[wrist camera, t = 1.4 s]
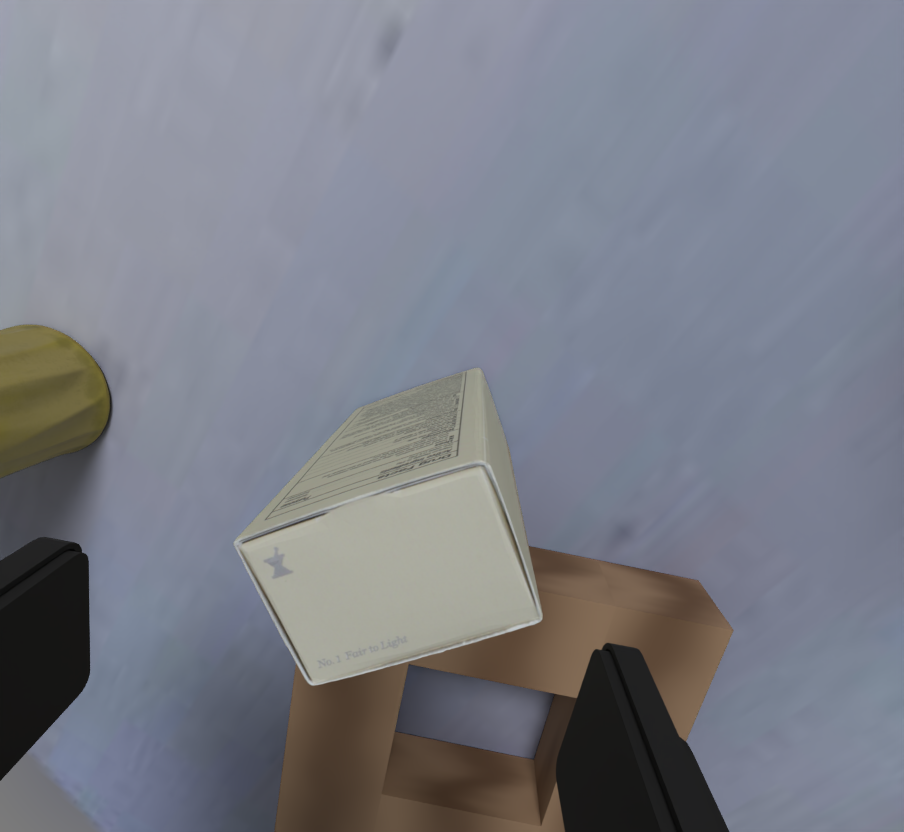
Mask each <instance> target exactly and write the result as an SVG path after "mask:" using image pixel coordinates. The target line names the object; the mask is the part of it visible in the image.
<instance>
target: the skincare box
mask: <svg viewBox="0 0 904 832" xmlns="http://www.w3.org/2000/svg"><path fill="white" fill-rule="evenodd" d="M233 545H234V547H235V548H236V550H237V552H238V554H239V556H240V557H241V559H242V561H243V563H244V566H245V568H246V570H247V572H248V574H249V575H250V577H251V580H252V581H253V583H254V585H255V587H256V589H257V592H258V593H259V595H260V597H261V599H262V601H263V603H264V605H265V606H266V608H267V610H268V612H269V614H270V616H271V618H272V620H273V622H274V623H275V625H276V627H277V629H278V631H279V634H280V636H281V637H282V639H283V641H284V643H285V644H286V646H287V648H288V649H289V651H290V653H291V655H292V657H293V659H294V660H295V662H296V664H297V666H298V667H299V669H300V671H301V673H302V674H303V676H304V678H305V680H306V681H307V683H308V684H310V685H312V686H315V685H321V684H325V683H328V682H332V681H338V680H341V679H345V678H350V677H354V676H358V675H362V674H365V673H368V672H372V671H376V670H380V669H383V668H386V667H390V666H394V665H398V664H401V663H405V662H409V661H413V660H416V659H419V658H422V657H425V656H429V655H432V654H437V653H442V652H444V651H446V650H451V649H454V648H457V647H461V646H464V645H468V644H471V643H475V642H478V641H481V640H484V639H487V638H491V637H494V636H498V635H501V634H505V633H508V632H512V631H515V630H518V629H521V628H525V627H528V626H531V625H535V624H537V623H539V622H541V620H542V618H543V614H542V609H541V604H540V599H539V595H538V590H537V585H536V580H535V575H534V571H533V566H532V561H531V556H530V551H529V545H528V541H527V536H526V531H525V527H524V522H523V517H522V512H521V507H520V502H519V498H518V492H517V487H516V482H515V477H514V472H513V467H512V461H511V456H510V451H509V447H508V444H507V441H506V438H505V435H504V432H503V429H502V426H501V423H500V420H499V417H498V414H497V411H496V408H495V405H494V402H493V399H492V396H491V393H490V390H489V388H488V385H487V382H486V379H485V377H484V374H483V371H482V370H481V369H480V368H473V369H470V370H467V371H464V372H461V373H457V374H454V375H451V376H448V377H445V378H442V379H439V380H436V381H433V382H430V383H427V384H424V385H421V386H418V387H415V388H413V389H410V390H407V391H404V392H401V393H398V394H395V395H393V396H390V397H387V398H384V399H381V400H379V401H376V402H373V403H371V404H368V405H365V406H363V407H360V408H358V409H356V410H355V411H354V412H353V413H352V414H351V415H350V416H349V418H348V419H347V420H346V421H345V422H344V423H343V424H342V425H341V426H340V427H339V428H338V430H337V431H336V432H335V433H334V434H333V435H332V436H331V437H330V438H329V439H328V440H327V441H326V442H325V444H324V445H323V446H322V447H321V448H320V449H319V450H318V451H317V452H316V453H315V454H314V456H313V457H312V458H311V459H310V460H309V461H308V462H307V463H306V464H305V465H304V466H303V467H302V468H301V469H300V471H299V472H298V473H297V474H296V475H295V476H294V477H293V478H292V479H291V480H290V481H289V482H288V484H287V485H286V486H285V487H284V488H283V489H282V490H281V491H280V492H279V493H278V494H277V495H276V497H275V498H274V499H273V500H272V501H271V502H270V503H269V504H268V505H267V506H266V507H265V508H264V509H263V510H262V511H261V513H260V514H259V515H258V516H257V517H256V518H255V519H254V520H253V521H252V522H251V523H250V524H249V525H248V526H247V528H246V529H245V530H244V531H243V532H242V533H241V534H240V535H239V536H238V537H237V538H236V540H235V541H234V543H233Z"/></svg>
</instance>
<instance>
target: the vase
mask: <svg viewBox="0 0 904 832" xmlns="http://www.w3.org/2000/svg"><path fill="white" fill-rule="evenodd" d="M109 411H110V396H109V390H108V387H107V383H106V380H105V378H104V376H103V373H102V371H101V369H100V367H99V366H98V364H97V363H96V361H95V360H94V359H93V358H92V357H91V355H90V354H89V353H88V352H87V351H86V350H85V349H84V348H83V347H82V346H81V345H80V344H78V343H77V342H76V341H75V340H73V339H72V338H70V337H69V336H67V335H65V334H63V333H61V332H59V331H57V330H54V329H52V328H48V327H45V326H40V325H19V326H14V327H10V328H6V329H3V330H0V478H2V477H5V476H7V475H10V474H12V473H15V472H17V471H20V470H22V469H25V468H28V467H30V466H33V465H35V464H38V463H41V462H43V461H46V460H48V459H51V458H54V457H56V456H60V455H63V454H67V453H73V452H76V451H79V450H81V449H83V448H85V447H87V446H88V445H90V444H91V443H92V442H94V441H95V440H96V439H97V438H98V437H99V436H100V434H101V433H102V431H103V429H104V428H105V425H106V423H107V420H108V416H109Z"/></svg>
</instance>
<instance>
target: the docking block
mask: <svg viewBox="0 0 904 832" xmlns="http://www.w3.org/2000/svg"><path fill="white" fill-rule="evenodd" d="M529 551H530V556H531V561H532V566H533V571H534V575H535V580H536V585H537V590H538V595H539V599H540V604H541V609H542V614H543V618H542V620H541V622H539V623H537V624H535V625H531V626H528V627H525V628H521V629H518V630H515V631H512V632H508V633H505V634H501V635H498V636H494V637H491V638H487V639H484V640H481V641H478V642H475V643H471V644H468V645H464V646H461V647H457V648H454V649H451V650H446V651H444V652H442V653H437V654H432V655H429V656H425V657H422V658H419V659H416V660H413V661H409V662H405V663H401V664H398V665H394V666H390V667H386V668H383V669H380V670H376V671H372V672H368V673H365V674H362V675H358V676H354V677H350V678H345V679H341V680H338V681H332V682H328V683H325V684H321V685H315V686H312V685H310V684H308V683H307V681H306V680H305V678H304V676H303V674H302V673H301V671H300V669H299V667H298V666H297V664H296V668H295V676H294V683H293V691H292V699H291V707H290V714H289V722H288V730H287V738H286V745H285V753H284V761H283V769H282V776H281V784H280V792H279V800H278V807H277V815H276V823H275V831H274V832H565V829H564V823H563V817H562V811H561V805H560V799H559V793H558V788H557V781H556V762H557V757H558V753H559V750H560V747H561V744H562V741H563V738H564V735H565V732H566V729H567V726H568V723H569V720H570V717H571V714H572V711H573V709H574V706H575V703H576V700H577V697H578V694H579V691H580V688H581V685H582V682H583V679H584V676H585V673H586V670H587V667H588V664H589V661H590V658H591V655H592V653H593V651H594V650H595V649H599V650H602V648H603V646H604V645H605V644H606V643H612V644H618V645H623V646H628V647H634V648H637V649H639V650H640V652H641V653H642V655H643V657H644V659H645V662H646V664H647V666H648V668H649V671H650V673H651V675H652V677H653V679H654V682H655V684H656V686H657V688H658V690H659V693H660V695H661V697H662V699H663V702H664V704H665V706H666V708H667V710H668V713H669V715H670V717H671V719H672V722H673V724H674V726H675V728H676V730H677V733H678V735H679V737H681V738H682V739H683V740H684V741H685V742H686V740H687V738H688V735H689V733H690V731H691V728H692V726H693V724H694V721H695V719H696V717H697V714H698V712H699V710H700V707H701V705H702V703H703V700H704V698H705V696H706V693H707V691H708V689H709V686H710V684H711V682H712V679H713V677H714V675H715V672H716V670H717V668H718V665H719V663H720V661H721V658H722V656H723V654H724V651H725V649H726V647H727V644H728V642H729V640H730V637H731V635H732V633H733V629H732V627H731V626H730V625H729V623H728V622H727V620H726V619H725V617H724V616H723V615H722V613H721V612H720V610H719V609H718V607H717V606H716V605H715V603H714V602H713V600H712V599H711V598H710V596H709V595H708V593H707V592H706V590H705V589H704V588H703V586H702V585H701V583H700V582H699V581H698V580H693V579H688V578H683V577H678V576H673V575H669V574H664V573H659V572H654V571H649V570H644V569H639V568H634V567H629V566H624V565H619V564H614V563H609V562H604V561H600V560H595V559H590V558H585V557H580V556H575V555H570V554H565V553H560V552H555V551H550V550H545V549H540V548H536V547H531V546H529ZM409 664H411V665H416V666H420V667H425V668H430V669H435V670H440V671H445V672H450V673H455V674H460V675H465V676H470V677H475V678H480V679H485V680H490V681H495V682H499V683H504V684H509V685H514V686H519V687H524V688H529V689H534V690H539V691H544V692H549V693H554V694H555V695H554V698H553V702H552V705H551V708H550V711H549V714H548V717H547V720H546V723H545V727H544V730H543V733H542V736H541V739H540V742H539V745H538V749H537V752H536V755H535V758H534V760H532V759H527V758H522V757H517V756H512V755H507V754H503V753H498V752H493V751H488V750H483V749H478V748H473V747H468V746H463V745H458V744H453V743H448V742H443V741H438V740H433V739H428V738H423V737H419V736H414V735H409V734H404V733H399V732H395V728H396V723H397V718H398V713H399V708H400V704H401V699H402V694H403V689H404V685H405V680H406V675H407V670H408V665H409Z"/></svg>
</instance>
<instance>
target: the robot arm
mask: <svg viewBox="0 0 904 832" xmlns="http://www.w3.org/2000/svg"><path fill="white" fill-rule="evenodd" d="M89 675H90V629H89V561H88V557H87V555H86V554H84V553H82V549H81V547H80V545H79V544H77V543H74V542H69V541H63V540H58V539H53V538H47V537H41V538H38V539H36V540H33V541H32V542H30V543H29V544H27V545H25V546H24V547H22V548H21V549H19V550H17V551H16V552H14V553H12V554H11V555H9V556H8V557H6V558H4V559H3V560H1V561H0V781H1V780H2V778H3V777H4V776H5V775H6V774H7V773H8V772H9V771H10V770H11V769H12V767H13V766H14V765H15V764H16V763H17V762H18V761H19V760H20V759H21V758H22V757H23V755H24V754H25V753H26V752H27V751H28V750H29V749H30V748H31V747H32V746H33V745H34V744H35V742H36V741H37V740H38V739H39V738H40V737H41V736H42V735H43V734H44V733H45V732H46V731H47V729H48V728H49V727H50V726H51V725H52V724H53V723H54V722H55V721H56V720H57V719H58V717H59V716H60V715H61V714H62V713H63V712H64V711H65V710H66V709H67V708H68V707H69V705H70V704H71V703H72V702H73V701H74V700H75V699H76V698H77V697H78V696H79V694H80V693H81V692H82V690H83V689H84V687H85V685H86V683H87V681H88V678H89ZM556 781H557V788H558V793H559V799H560V805H561V811H562V817H563V823H564V829H565V832H729V830H728V828H727V826H726V824H725V822H724V819H723V817H722V815H721V813H720V811H719V809H718V806H717V804H716V802H715V800H714V798H713V796H712V793H711V791H710V789H709V787H708V785H707V783H706V781H705V778H704V776H703V774H702V772H701V770H700V768H699V765H698V763H697V761H696V759H695V757H694V755H693V752H692V751H691V749H690V747H689V746H688V744H687V742H685V741H684V740H683V739H682V738H681V737H679V735H678V733H677V730H676V728H675V726H674V724H673V722H672V719H671V717H670V715H669V713H668V710H667V708H666V706H665V704H664V702H663V699H662V697H661V695H660V693H659V690H658V688H657V686H656V684H655V682H654V679H653V677H652V675H651V673H650V671H649V668H648V666H647V664H646V662H645V659H644V657H643V655H642V653H641V652H640V650H639V649H637V648H634V647H628V646H623V645H618V644H612V643H606V644H605V645H604V646H603V648H602V650H599V649H595V650H594V651H593V653H592V655H591V658H590V661H589V664H588V667H587V670H586V673H585V676H584V679H583V682H582V685H581V688H580V691H579V694H578V697H577V700H576V703H575V706H574V709H573V711H572V714H571V717H570V720H569V723H568V726H567V729H566V732H565V735H564V738H563V741H562V744H561V747H560V750H559V753H558V757H557V762H556Z"/></svg>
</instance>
